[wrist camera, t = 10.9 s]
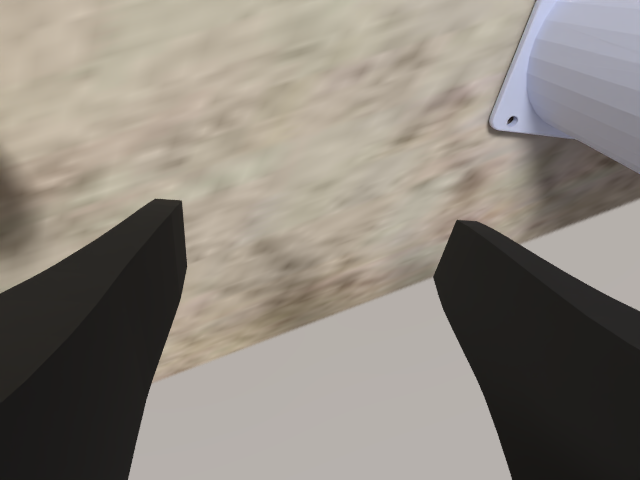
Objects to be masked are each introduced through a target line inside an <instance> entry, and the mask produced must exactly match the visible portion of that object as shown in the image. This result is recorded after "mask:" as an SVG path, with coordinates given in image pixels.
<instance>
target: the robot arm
mask: <svg viewBox="0 0 640 480" xmlns="http://www.w3.org/2000/svg"><path fill="white" fill-rule="evenodd" d="M512 116H514V118H513V120H512V122H511V123H509V124H507V121H508V119H509V118H510V117H512ZM489 123H490V125H491V127H492V128H494V129H496V130H499V131H508V132H517V133H525V134H534V135H543V136H551V137H560V138H569V139H576V140H578V141H580V142H582V143H584V144H586V145H587V146H589V147H591V148H593V149H595V150H596V151H598V152H600V153H602V154H604V155H606V156H607V157H609V158H611V159H613V160H615V161H617V162H618V163H620V164H622V165H624V166H626V167H628V168H629V169H631V170H633V171H635V172H637V173H639V174H640V0H536V3H535V5H534V8H533V10H532V13H531V15H530V18H529V20H528V23H527V25H526V28H525V30H524V33H523V35H522V38H521V40H520V43H519V45H518V48H517V51H516V53H515V56H514V58H513V61H512V63H511V66H510V68H509V71H508V73H507V76H506V78H505V81H504V83H503V86H502V88H501V91H500V93H499V96H498V98H497V101H496V103H495V106H494V108H493V111H492V113H491V116H490V119H489ZM186 269H187V259H186V247H185V234H184V222H183V209H182V201H180V200H166V199H154V200H153V201H151V202H149V203H148V204H146V205H145V206H144V207H142V208H141V209H139V210H138V211H136V212H135V213H134V214H132V215H131V216H129V217H128V218H127V219H125V220H124V221H122V222H121V223H119V224H118V225H117V226H115V227H114V228H112V229H111V230H109V231H108V232H106V233H105V234H103V235H102V236H101V237H99V238H98V239H96V240H95V241H93V242H91V243H90V244H88V245H86V246H85V247H83V248H82V249H80V250H78V251H77V252H75V253H73V254H72V255H70V256H69V257H67V258H65V259H64V260H62V261H60V262H59V263H57V264H56V265H54V266H52V267H50V268H49V269H47V270H45V271H43V272H41V273H39V274H38V275H36V276H34V277H32V278H30V279H28V280H26V281H24V282H22V283H20V284H18V285H16V286H14V287H12V288H10V289H9V290H7V291H5V292H3V293H1V294H0V480H128V476H129V472H130V467H131V463H132V459H133V454H134V450H135V445H136V440H137V436H138V433H139V428H140V424H141V420H142V416H143V411H144V407H145V403H146V399H147V396H148V393H149V389H150V386H151V383H152V380H153V377H154V374H155V371H156V368H157V365H158V363H159V360H160V357H161V354H162V351H163V348H164V346H165V343H166V340H167V337H168V334H169V331H170V329H171V326H172V323H173V320H174V317H175V314H176V311H177V308H178V305H179V302H180V299H181V294H182V289H183V285H184V280H185V274H186ZM433 278H434V281H435V285H436V288H437V291H438V295H439V298H440V301H441V304H442V307H443V310H444V312H445V314H446V316H447V318H448V320H449V322H450V325H451V327H452V329H453V331H454V333H455V335H456V337H457V339H458V341H459V344H460V346H461V348H462V350H463V352H464V354H465V356H466V358H467V360H468V362H469V364H470V366H471V368H472V370H473V372H474V374H475V376H476V378H477V381H478V383H479V385H480V388H481V390H482V392H483V395H484V397H485V400H486V403H487V405H488V408H489V411H490V414H491V417H492V419H493V422H494V425H495V428H496V430H497V433H498V436H499V440H500V443H501V446H502V449H503V452H504V455H505V458H506V461H507V464H508V467H509V470H510V473H511V477H512V480H640V311H638V310H636V309H634V308H632V307H630V306H628V305H626V304H624V303H621V302H619V301H617V300H615V299H613V298H611V297H609V296H607V295H606V294H604V293H602V292H600V291H598V290H596V289H594V288H593V287H591V286H589V285H587V284H585V283H584V282H582V281H580V280H578V279H576V278H575V277H573V276H571V275H569V274H568V273H566V272H564V271H562V270H561V269H559V268H557V267H556V266H554V265H552V264H551V263H549V262H547V261H546V260H544V259H542V258H540V257H539V256H537V255H536V254H534V253H532V252H531V251H529V250H527V249H526V248H524V247H523V246H521V245H519V244H518V243H516V242H514V241H513V240H511V239H509V238H508V237H506V236H504V235H503V234H501V233H499V232H497V231H496V230H494V229H492V228H490V227H488V226H486V225H484V224H482V223H480V222H477V221H464V220H457V221H456V223H455V225H454V228H453V230H452V233H451V235H450V238H449V240H448V242H447V245H446V247H445V250H444V252H443V255H442V257H441V259H440V262H439V264H438V267H437V269H436V272H435V274H434V276H433Z"/></svg>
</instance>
